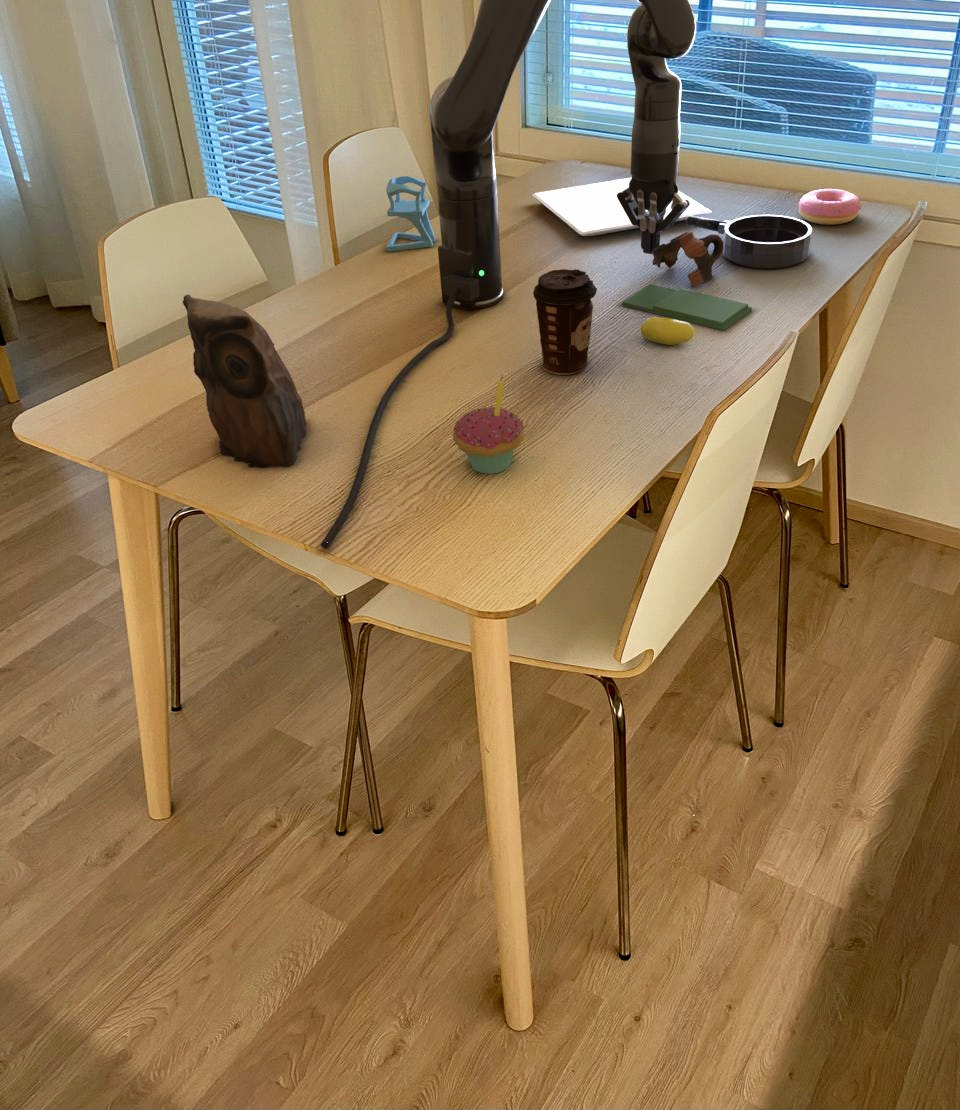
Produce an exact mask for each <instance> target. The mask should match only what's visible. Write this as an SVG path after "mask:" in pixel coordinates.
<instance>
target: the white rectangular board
mask: <svg viewBox="0 0 960 1110" xmlns="http://www.w3.org/2000/svg"><path fill="white" fill-rule="evenodd" d="M631 178H632V176H630V177H625V178H619V179H613V180H608V181H600V182H594V183H589V184H582V185H576V186H575V185H574V186H570V187H563V188H557V189H551V190H545V191H539V192H534V193H532V194H531V196H532V197H534V198H535V199H536V200H537V201H538V202H540V204H542V205H543V206H545V207H546V208H547V209H548V210H549V211H551V212H552V213H553V215H555V216H556V217H557V218H559V219H560V220H562V222H564V223H565V224H566V225H567V226H568V227H570V228H571V229H572V230H573V231H574V232H576V233H577V234H578V235H579V236H582V237H594V236H600V235H606V234H612V233H617V232H623V231H624V232H625V231H629V230H636V229H640V227H638V226H637V225H635V226H634V225H632V224H631V222H630V220H629V218H628V216H627V215H626V213H625V211H624V209H623V207H622V206H621V204H620V202H619V200H618V198H617V194H618V193H619V192H621V191H623V190H625V189H627V188H628V187H629V182H630V180H631ZM678 194H679V195H680V197H681V198H682V199H683V200H688V201H689V203H690V205H689V206H688V208H687V209H686V210H685V211H684V212H683V213H682V215H681V216H680V217H679V218H678V219H677V220H676V221H675V223H677V222H682V221H686V219H687V218H688V217H689V216H696V217H704V216H707V215H710V214H711V213H712V210H711V209H709V208H707V207H705V206H704V205H702V204H701V203H699V202H697V201H696V200H694V199H693V198H691V197H690V196H688V195H686V194H685V193H683V192H682V191H679V190H678ZM671 204H672V201H671V203H670V204H669V205H668V207H667V208H666V214H665V215H664V219H665V217H666V216H667V215H668V214H669V213H670V212H671V210H672V209H671ZM664 219H663V220H664Z"/></svg>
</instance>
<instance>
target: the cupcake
mask: <svg viewBox="0 0 960 1110" xmlns="http://www.w3.org/2000/svg"><path fill="white" fill-rule="evenodd" d="M503 379H504V374H501V376H500V379H499V380H497V386H496V395H495V403H494V406H488V407H486V406H484V407H483V408H477V409H473V410H471V411H470V412H467V413H465V414H463V415H462V416H461V418H460V419H458V420H457V421H456V423H455V424H454V427H453V431H452V439H453V441H454V443H455V445H456V446H457V447H458V449H459V451H461V452H464V453H465V454H466V456H467V458H468V460H469V462H470V465H471V467H472V469H473V470H474V471H476V472H478V473H481V474H485V475H486V474H487V475H490V474H498V473H501V472H504V471H506V470H507V469H508V468H509V467H510V465H511V461H512V458H513V455H514V452H515V449H517V448H518V447H519V446H521V444H522V442H523V440H524V437H525V427H524V422H523V420H522V419H521V418H519V416H517V415H516V414H515V413H514V412H512V411H508V410H507V409H505V408H502V397H503V390H504V380H503Z"/></svg>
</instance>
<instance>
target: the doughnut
mask: <svg viewBox="0 0 960 1110" xmlns="http://www.w3.org/2000/svg"><path fill="white" fill-rule="evenodd" d="M797 207H798V212H799V215H800V216H801V218H803V219H804V220H805V221H807V222H810V223H813V224H818V225H828V226H829V225H830V226H831V225H841V224H846V223H849V222H851V221H854V219H855V218H857V216H858V215H859V213H860V210H862V203H861V199H859V196H857V195H856V194H854V193H853V192H850V191H847V190H844V189H838V188H837V189H836V188H823V189H816V190H811V191H808V192H806V193H805V194H803V196H802V197H800V200H799V202H798V204H797Z"/></svg>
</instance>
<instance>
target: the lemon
mask: <svg viewBox="0 0 960 1110" xmlns="http://www.w3.org/2000/svg"><path fill="white" fill-rule="evenodd" d="M639 330H640V334H641V336H642V337H643V338H645V339H646V340H648V341H651V342H654V343H659V344H663V345H668V346H675V345H678V344H681V343H686V342H688V341H690V340H691V339H693V338H694V336H695V329H694V327H693V326H692V324H691V323H690V322H687V321H683V320H679V319H675V318H671V317H659V316H658V317H657V316H652V317H649V318H648V319H646V320H645V321H643V323H642V324H641V326H640V328H639Z"/></svg>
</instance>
